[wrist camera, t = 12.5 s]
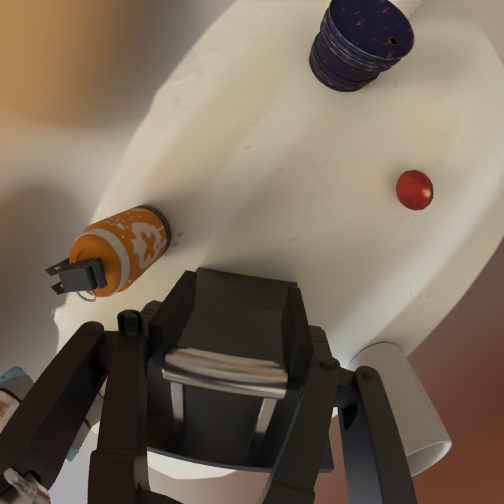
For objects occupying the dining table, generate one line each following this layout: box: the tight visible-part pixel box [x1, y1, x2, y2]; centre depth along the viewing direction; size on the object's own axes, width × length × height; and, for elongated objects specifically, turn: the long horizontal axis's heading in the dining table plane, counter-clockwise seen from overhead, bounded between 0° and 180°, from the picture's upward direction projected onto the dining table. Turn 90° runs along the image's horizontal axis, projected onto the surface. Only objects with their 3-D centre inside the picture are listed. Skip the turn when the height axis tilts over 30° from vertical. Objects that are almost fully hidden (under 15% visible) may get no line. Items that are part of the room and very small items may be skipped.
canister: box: [45, 206, 170, 302], centre depth 32 cm, size 9×11×20 cm
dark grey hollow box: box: [195, 268, 298, 312], centre depth 41 cm, size 20×16×10 cm
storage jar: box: [309, 0, 414, 92], centre depth 24 cm, size 10×10×15 cm
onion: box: [396, 170, 433, 210], centre depth 33 cm, size 6×6×8 cm
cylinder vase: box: [347, 343, 452, 477], centre depth 35 cm, size 12×12×25 cm
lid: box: [147, 298, 334, 473], centre depth 22 cm, size 21×16×9 cm
